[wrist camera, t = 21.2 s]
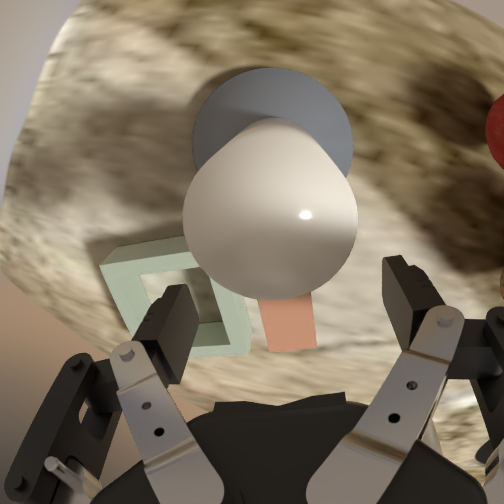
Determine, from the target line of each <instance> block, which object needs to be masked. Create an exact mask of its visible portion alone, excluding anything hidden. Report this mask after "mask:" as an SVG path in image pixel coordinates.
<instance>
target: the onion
mask: <svg viewBox="0 0 504 504" xmlns="http://www.w3.org/2000/svg"><path fill="white" fill-rule="evenodd" d="M485 133H486V141H487V144H488V146H489V149H490V152H491V154H492V156H493V158H494V159H495V160H496V162H497V163H498V164H499V165H500V166H501V167H502V169H504V94H503V95H502V96H501V97H500V98H498V99H497V100H496V101H495V102H494V104H493V105H492V107H491V109H490V111H489V112H488V114H487V118H486V124H485Z"/></svg>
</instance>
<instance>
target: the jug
mask: <svg viewBox="0 0 504 504" xmlns="http://www.w3.org/2000/svg"><path fill="white" fill-rule="evenodd" d="M182 220H183V230H184V234H185V239H186V242H187V244H188V247H189V250H190V252H191V253H192V255H193V257H194V259H195V260H196V262H197V263H198V265H199V266H200V267H201V268H202V270H203V271H204V272H205V273H206V274H207V275H208V276H209V277H210V278H212V279H213V280H214V281H215V282H217V283H218V284H220V285H221V286H222V287H224V288H226V289H228V290H230V291H232V292H234V293H236V294H239V295H242V296H245V297H249V298H253V299H257V300H258V305H259V309H260V313H261V318H262V322H263V326H264V330H265V335H266V339H267V343H268V348H269V352H279V351H289V350H298V349H307V348H315V347H317V343H316V334H315V324H314V315H313V306H312V298H311V291H313V290H315V289H317V288H318V287H320V286H322V285H323V284H325V283H326V282H327V281H329V280H330V279H331V278H332V277H333V276H334V275H335V274H336V273H337V272H338V271H339V270H340V268H341V267H342V266H343V265H344V263H345V261H346V260H347V258H348V257H349V255H350V252H351V250H352V248H353V245H354V242H355V238H356V234H357V227H358V213H357V207H356V202H355V198H354V195H353V192H352V190H351V188H350V186H349V183H348V182H347V180H346V178H345V177H344V175H343V174H342V172H341V171H340V170H339V169H338V167H337V166H336V165H335V163H334V162H333V161H332V160H331V158H330V157H329V156H328V155H327V153H326V152H325V151H324V150H323V149H322V147H321V146H320V145H319V144H318V142H317V141H316V140H315V139H314V138H313V136H312V135H311V134H310V133H309V132H308V131H307V130H306V129H305V128H304V127H302V126H301V125H299V124H298V123H296V122H294V121H292V120H288V119H285V118H278V117H272V118H265V119H261V120H258V121H256V122H254V123H252V124H250V125H249V126H247V127H246V128H245V129H243V130H242V131H241V132H240V133H239V134H238V135H236V136H235V137H234V138H233V139H232V140H231V141H229V142H228V143H227V144H226V145H225V146H224V147H222V148H221V149H220V150H219V151H218V152H217V153H216V154H215V155H213V156H212V157H211V158H210V159H209V160H208V161H207V162H206V163H205V164H204V165H203V166H202V167H201V168H200V170H199V171H198V172H197V174H196V175H195V177H194V178H193V180H192V182H191V184H190V186H189V188H188V191H187V194H186V197H185V201H184V206H183V218H182Z"/></svg>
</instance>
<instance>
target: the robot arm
mask: <svg viewBox="0 0 504 504" xmlns="http://www.w3.org/2000/svg"><path fill="white" fill-rule="evenodd" d="M382 297H383V303H384V306H385V308H386V311H387V313H388V316H389V318H390V321H391V324H392V326H393V329H394V331H395V334H396V337H397V339H398V342H399V345H400V347H401V350H402V352H401V354H400V356H399V358H398V359H397V361H396V363H395V365H394V366H393V368H392V370H391V371H390V373H389V375H388V376H387V378H386V380H385V381H384V383H383V385H382V386H381V388H380V390H379V391H378V393H377V394H376V396H375V397H374V399H373V401H372V402H371V404H370V405H369V406H368V405H366V404H362V403H358V402H352V401H346V397H345V392H340V393H333V394H325V395H317V396H311V397H307V398H304V399H301V400H298V401H294V402H291V403H288V404H284V405H280V406H274V405H267V404H260V403H254V402H248V401H237V402H215V405H214V410H213V411H212V412H209V413H206V414H203V415H200V416H198V417H196V418H194V419H192V420H190V421H189V422H187V423H186V421H185V420H184V418H183V416H182V415H181V413H180V411H179V409H178V408H177V406H176V404H175V403H174V401H173V399H172V398H171V396H170V394H169V392H168V390H167V388H168V385H169V384H180V382H181V379H182V376H183V372H184V369H185V366H186V363H187V360H188V357H189V354H190V351H191V348H192V345H193V342H194V339H195V336H196V333H197V330H198V326H199V318H198V313H197V311H196V308H195V305H194V302H193V299H192V296H191V294H190V291H189V288H188V286H187V285H186V284H178V285H169V286H168V287H167V288H166V290H165V292H164V294H163V296H162V298H158V299H157V300H156V301H155V302H154V303H153V304H152V305H150V307H149V309H148V311H147V313H146V315H145V316H144V318H143V322H141V323H140V325H139V327H138V329H137V331H136V333H135V335H134V336H133V338H132V340H131V341H128V342H125V343H122V344H120V345H119V346H117V347H116V348H115V349H114V350H113V351H112V353H111V355H110V358H109V359H105V360H101V361H97V362H94V361H93V359H92V357H91V356H90V355H89V354H87V353H79V354H76V355H74V356H72V357H71V358H69V359H68V360H67V361H66V362H65V364H64V365H63V367H62V369H61V371H60V372H59V374H58V376H57V378H56V379H55V381H54V383H53V385H52V386H51V388H50V390H49V392H48V394H47V395H46V397H45V399H44V401H43V403H42V405H41V406H40V408H39V410H38V412H37V414H36V416H35V418H34V420H33V422H32V424H31V426H30V428H29V430H28V432H27V434H26V436H25V438H24V440H23V442H22V444H21V446H20V448H19V451H18V452H17V455H16V457H15V459H14V461H13V463H12V465H11V468H10V470H9V472H8V475H7V477H6V479H5V484H4V489H5V493H6V495H7V496H8V498H9V499H10V500H12V501H13V502H15V503H16V504H504V307H494V308H492V309H490V310H489V311H488V312H487V315H486V319H465V318H464V316H463V314H462V313H461V312H460V311H459V310H458V309H456V308H454V307H451V306H447V305H446V304H445V302H444V301H443V299H442V298H441V296H440V295H439V293H438V292H437V290H436V288H435V287H434V286H433V284H432V282H431V281H430V280H429V278H428V276H427V275H426V273H425V272H424V271H423V270H422V269H420V268H418V267H417V266H415V265H412V266H408V264H407V263H406V261H405V260H404V258H403V257H402V255H396V256H390V257H384V258H383V260H382ZM448 379H469V380H470V383H471V385H472V388H473V391H474V393H475V396H476V399H477V402H478V404H479V407H480V410H481V413H482V416H483V419H484V422H485V425H486V428H487V431H488V435H489V438H490V441H491V445H492V448H493V453H492V454H491V456H490V457H489V459H488V461H487V463H486V466H485V483H484V485H483V487H482V486H481V484H480V483H479V482H478V481H477V480H476V479H475V478H474V477H473V476H471V475H470V474H468V473H467V472H465V471H464V470H463V469H461V468H460V467H458V466H457V465H455V464H454V463H452V462H451V461H449V460H448V459H446V458H445V457H443V454H442V450H441V446H440V443H439V439H438V436H437V432H436V429H435V426H434V423H433V420H432V417H433V415H434V412H435V410H436V408H437V406H438V403H439V401H440V399H441V396H442V394H443V391H444V389H445V387H446V384H447V381H448ZM83 402H85V403H86V404H87V405H88V409H87V411H86V414H85V416H84V418H83V421H82V423H81V424H80V421H79V411H80V409H81V407H82V404H83ZM122 410H123V412H124V415H125V418H126V421H127V423H128V426H129V428H130V431H131V434H132V436H133V438H134V441H135V443H136V445H137V448H138V450H139V453H140V455H141V457H142V460H141V461H139V462H138V463H137V464H135V465H134V466H133V467H132V468H130V469H129V470H128V471H126V472H125V473H124V474H122V475H121V476H120V477H119V478H117V479H116V480H114V481H113V482H112V483H110V484H109V485H108V486H107V487H105V488H104V489H102V487H101V483H100V481H99V478H100V475H101V472H102V469H103V466H104V463H105V460H106V457H107V453H108V450H109V448H110V445H111V441H112V439H113V436H114V433H115V430H116V427H117V424H118V421H119V418H120V415H121V413H122Z"/></svg>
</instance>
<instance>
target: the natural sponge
mask: <svg viewBox="0 0 504 504" xmlns="http://www.w3.org/2000/svg"><path fill="white" fill-rule="evenodd" d="M500 292H501V295H502V298H503V299H504V268H503V271H502V273H501V279H500Z"/></svg>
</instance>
